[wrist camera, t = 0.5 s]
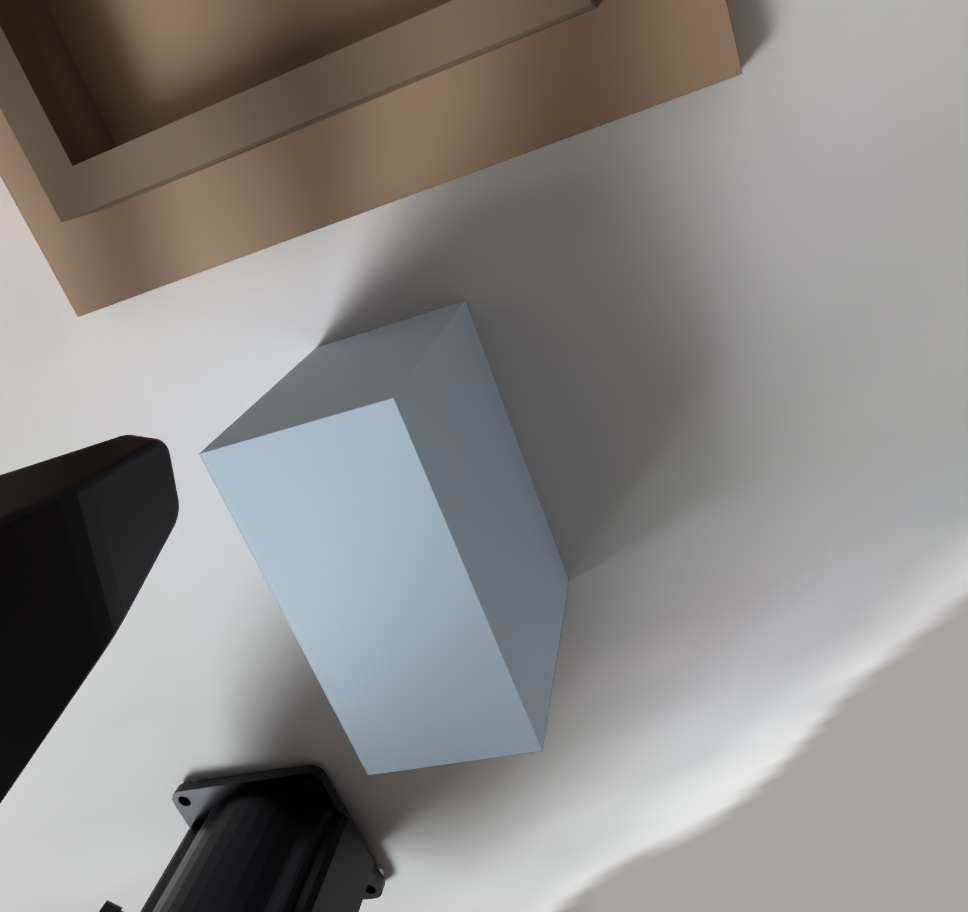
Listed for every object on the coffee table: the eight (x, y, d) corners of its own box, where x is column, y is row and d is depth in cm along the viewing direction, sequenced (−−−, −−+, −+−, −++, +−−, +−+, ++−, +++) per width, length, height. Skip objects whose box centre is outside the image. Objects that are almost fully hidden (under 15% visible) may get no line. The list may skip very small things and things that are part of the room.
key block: (433, 606, 27) (368, 775, 21) (317, 346, 24) (198, 454, 18) (569, 578, 26) (542, 751, 19) (465, 299, 22) (393, 397, 16)
